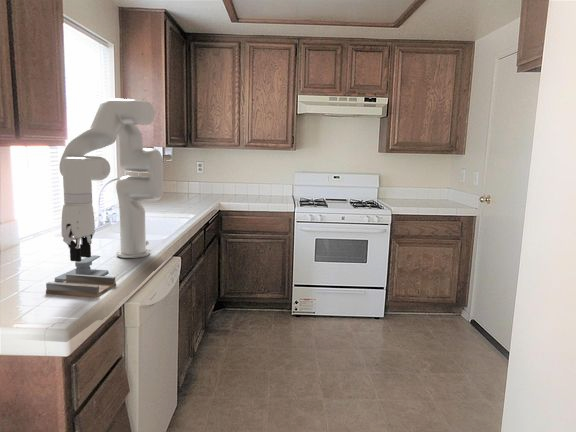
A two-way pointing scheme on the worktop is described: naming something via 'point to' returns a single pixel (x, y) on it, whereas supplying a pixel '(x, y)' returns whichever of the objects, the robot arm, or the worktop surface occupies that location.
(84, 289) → the stand
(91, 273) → the shower valve
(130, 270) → the worktop surface
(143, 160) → the robot arm
